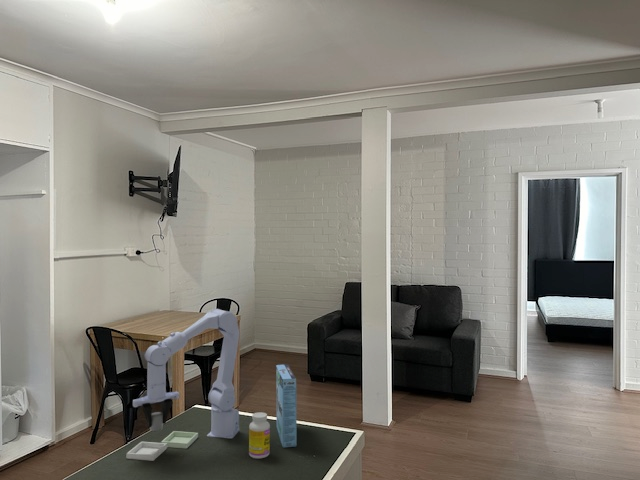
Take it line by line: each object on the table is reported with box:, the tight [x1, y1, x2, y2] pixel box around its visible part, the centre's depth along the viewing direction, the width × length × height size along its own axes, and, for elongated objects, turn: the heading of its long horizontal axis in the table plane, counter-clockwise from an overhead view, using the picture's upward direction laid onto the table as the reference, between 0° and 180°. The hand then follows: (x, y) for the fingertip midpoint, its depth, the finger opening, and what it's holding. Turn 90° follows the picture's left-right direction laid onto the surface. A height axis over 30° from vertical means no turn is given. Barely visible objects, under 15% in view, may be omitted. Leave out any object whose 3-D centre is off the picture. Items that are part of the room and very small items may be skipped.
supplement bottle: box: [248, 411, 271, 459], centre depth 154 cm, size 7×7×13 cm
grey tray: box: [125, 441, 168, 462], centre depth 153 cm, size 9×9×2 cm
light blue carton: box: [275, 364, 298, 448], centre depth 169 cm, size 20×5×23 cm, turn 11°
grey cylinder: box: [149, 411, 164, 432], centre depth 155 cm, size 4×4×5 cm
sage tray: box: [160, 430, 199, 449], centre depth 162 cm, size 9×9×2 cm
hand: (156, 424), depth 155 cm, fingers closed on grey cylinder, 4 cm apart
